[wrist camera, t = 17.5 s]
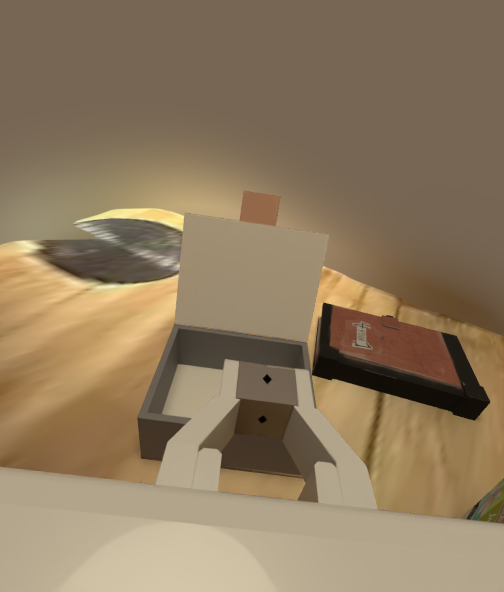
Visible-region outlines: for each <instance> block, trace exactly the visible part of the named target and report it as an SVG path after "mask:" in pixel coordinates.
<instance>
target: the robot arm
mask: <svg viewBox="0 0 504 592" xmlns="http://www.w3.org/2000/svg"><path fill="white" fill-rule="evenodd" d="M234 434H245V435H256V436H263V437H270V438H276V439H283V440H282V441H283V443H284V445H285V447H286V448H287V450H288V452H289V454H290V455H291V457H292V459H293V461H294V463H295V464H296V466H297V468H298V470H299V471H300V473H301V475H302V477H303V479H304V480H305V482H306V484H305V486H304V488H303V490H302V492H301V494H300V496H299V498H298V500H290V499H281V498H272V497H263V496H254V495H245V494H236V493H227V492H218V484H219V475H220V466H221V457H222V454H221V451H222V450H223V449H224V447H225V446H226V445H227V443H228V442H229V441H230V439H231V438H232V437H233V435H234ZM0 592H504V524H503V523H494V522H485V521H476V520H467V519H458V518H449V517H440V516H432V515H423V514H414V513H405V512H396V511H387V510H378V509H377V505H376V501H375V497H374V493H373V489H372V486H371V482H370V478H369V474H368V470H367V466H366V465H365V464H364V463H363V462H362V460H361V459H360V458H359V457H358V455H357V454H356V453H355V452H354V451H353V449H352V448H351V447H350V446H349V445H348V443H347V442H346V441H345V440H344V439H343V437H342V436H341V435H340V434H339V433H338V431H337V430H336V429H335V428H334V427H333V425H332V424H331V423H330V422H329V421H328V419H327V418H326V417H325V416H324V415H323V413H322V412H321V411H320V410H319V409H315V407H314V400H313V394H312V387H311V380H310V374H309V371H308V370H303V369H295V368H294V369H293V368H287V367H279V366H271V365H262V364H255V363H249V362H243V361H235V360H228V359H225V361H224V367H223V373H222V380H221V387H220V393H219V396H214V397H213V398H212V399H211V400H210V401H209V402H208V403H207V404H206V405H205V406H204V407H203V408H202V409H201V410H200V411H199V412H198V413H197V414H196V415H195V416H194V417H193V418H192V419H191V420H190V421H189V422H188V423H187V424H185V425H184V426H183V427H182V428H181V429H180V430H179V431H178V432H177V433H176V434H175V435H174V436H173V437H172V438H171V439H170V440H169V441H168V442H167V446H166V449H165V453H164V456H163V460H162V463H161V467H160V470H159V474H158V477H157V481H156V484H147V483H138V482H130V481H121V480H112V479H103V478H94V477H85V476H77V475H68V474H59V473H50V472H41V471H33V470H24V469H15V468H6V467H0Z"/></svg>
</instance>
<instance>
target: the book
mask: <svg viewBox="0 0 504 592" xmlns="http://www.w3.org/2000/svg"><path fill="white" fill-rule="evenodd" d="M312 375H314V376H317V377H321V378H325V379H328V380H331V379H332V378H333V379H337V380H340V381H344V382H348V383H351V384H355V385H358V386H362V387H365V388H369V389H373V390H376V391H380V392H383V393H387V394H391V395H394V396H398V397H401V398H405V399H408V400H412V401H416V402H419V403H423V404H426V405H430V406H433V407H437V408H441V409H444V410H448V411H451V412H453V415H457V416H460V417H464V418H467V419H471V420H474V421H475V419H476V418H477V417H478V416H479V415H480V414H481V412H482V411H483V410H484V409H485V408H486V407H487V406H488V404H489V403H490V400H489V398H488V396H487V394H486V392H485V390H484V388H483V387H482V386H480V385H479V383H478V381H477V378H476V376H475V374H474V372H473V370H472V368H471V366H470V363H469V361H468V359H467V357H466V355H465V353H464V351H463V349H462V346H461V344H460V342H459V340H458V338H457V336H455V335H451V334H447V333H443V332H439V331H435V330H431V329H427V328H423V327H419V326H415V325H411V324H407V323H403V322H399V321H398V319H395V318H393V317H392V316H388V315H386V316H383V315H382V317H379V316H375V315H371V314H367V313H363V312H359V311H355V310H351V309H347V308H343V307H339V306H335V305H331V304H327V303H323V307H322V317H319V318H318V327H317V335H316V344H315V353H314V362H313V371H312Z"/></svg>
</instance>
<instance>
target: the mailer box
mask: <svg viewBox="0 0 504 592" xmlns="http://www.w3.org/2000/svg"><path fill="white" fill-rule="evenodd" d="M225 359H228V360H235V361H243V362H249V363H255V364H262V365H271V366H279V367H287V368H293V369H294V368H295V369H303V370H308V371H309V374H310V380H311V387H312V394H313V400H314V407H315V409H316V403H315V396H314V389H313V382H312V375H311V368H310V361H309V354H308V347H307V343H306V342H299V341H292V340H285V339H278V338H270V337H263V336H256V335H249V334H242V333H234V332H227V331H220V330H213V329H206V328H198V327H191V326H184V325H177V324H174V327H173V329H172V332H171V334H170V337H169V339H168V342H167V345H166V347H165V350H164V352H163V355H162V357H161V360H160V362H159V365H158V367H157V370H156V372H155V375H154V377H153V380H152V382H151V385H150V387H149V390H148V393H147V395H146V398H145V400H144V403H143V405H142V408H141V410H140V413H139V415H138V429H139V439H140V450H141V458H143V459H151V460H159V461H162V460H163V456H164V453H165V449H166V446H167V442H168V441H169V440H170V439H171V438H172V437H173V436H174V435H175V434H176V433H177V432H178V431H179V430H180V429H181V428H182V427H183V426H184V425H185V424H187V423H188V422H189V421H190V420H191V419H192V418H193V417H194V416H195V415H196V414H197V413H198V412H199V411H200V410H201V409H202V408H203V407H204V406H205V405H206V404H207V403H208V402H209V401H210V400H211V399H212V398H213V397H214V396H219V393H220V387H221V380H222V373H223V367H224V361H225ZM282 440H283V439H276V438H270V437H263V436H256V435H245V434H234V435H233V437H232V438H231V439H230V441H229V442H228V443H227V445H226V446H225V447H224V449H223V450H222V451H221V454H222V457H221V466H220V468H225V469H233V470H241V471H249V472H257V473H266V474H274V475H282V476H290V477H298V478H303V477H302V475H301V473H300V471H299V470H298V468H297V466H296V464H295V463H294V461H293V459H292V457H291V455H290V454H289V452H288V450H287V448H286V447H285V445H284V443H283V441H282Z"/></svg>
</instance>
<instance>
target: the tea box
mask: <svg viewBox="0 0 504 592" xmlns="http://www.w3.org/2000/svg"><path fill="white" fill-rule="evenodd" d="M461 519H467V520H476V521H485V522H494V523H503V524H504V479H503V480H502V481H500V482H499V483H498V484H497V485H496V486H495V487H494V488H493V489H492V490H491V491H490V492H489V493H488V494H486V495H485V496H484V497H483V498H482V499H481V500H480V501H479V502H478V503H477V504H476V505H475V506H474V507H472V508H471V509H470V510H469V511H468V512H467V513H466V514H465V515H464V516H463V517H462V518H461Z"/></svg>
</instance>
